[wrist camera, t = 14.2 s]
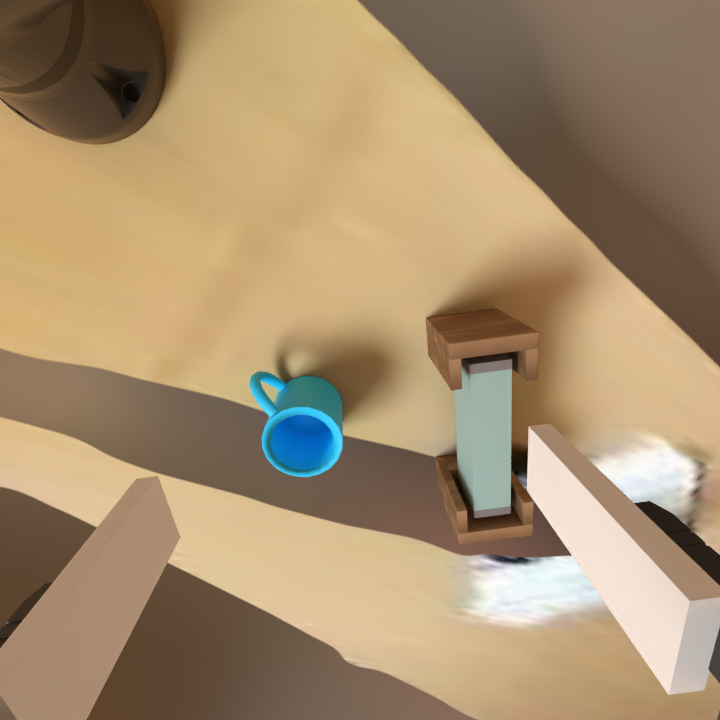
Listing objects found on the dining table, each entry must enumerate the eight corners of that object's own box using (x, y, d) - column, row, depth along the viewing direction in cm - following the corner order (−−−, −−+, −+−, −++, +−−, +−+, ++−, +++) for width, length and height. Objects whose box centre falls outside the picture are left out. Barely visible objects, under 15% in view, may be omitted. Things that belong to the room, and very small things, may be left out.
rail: (452, 345, 41) (469, 364, 36) (488, 340, 41) (512, 359, 36) (458, 483, 48) (474, 518, 42) (490, 479, 48) (510, 513, 42)
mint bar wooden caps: (425, 318, 43) (449, 344, 34) (496, 308, 43) (538, 332, 34) (437, 485, 51) (459, 544, 42) (497, 477, 51) (532, 535, 42)
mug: (356, 407, 47) (359, 443, 39) (309, 448, 49) (303, 490, 41) (284, 339, 44) (271, 363, 36) (236, 385, 45) (214, 418, 38)
